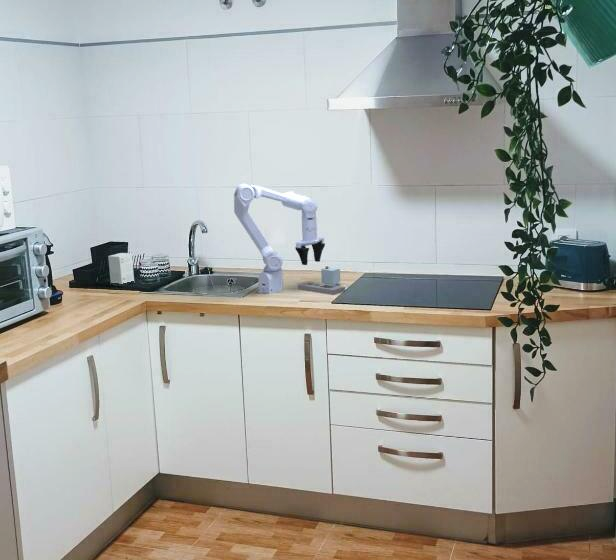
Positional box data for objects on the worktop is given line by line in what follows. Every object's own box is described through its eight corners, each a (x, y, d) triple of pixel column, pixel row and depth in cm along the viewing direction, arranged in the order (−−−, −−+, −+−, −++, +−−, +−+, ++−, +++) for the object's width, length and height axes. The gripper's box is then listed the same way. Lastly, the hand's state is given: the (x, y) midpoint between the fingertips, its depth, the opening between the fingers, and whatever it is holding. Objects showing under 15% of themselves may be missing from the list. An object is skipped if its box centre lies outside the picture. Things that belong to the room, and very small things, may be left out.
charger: (333, 288, 318) (332, 268, 316) (321, 287, 321) (321, 267, 320) (340, 286, 321) (339, 266, 319) (329, 285, 325) (328, 265, 323)
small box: (123, 282, 346) (120, 252, 343) (134, 283, 343) (132, 253, 340) (110, 286, 339) (107, 255, 336) (122, 287, 336) (119, 256, 333)
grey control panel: (333, 296, 304) (333, 289, 304) (298, 290, 316) (298, 284, 316) (345, 293, 309) (345, 285, 309) (310, 287, 321) (309, 280, 321)
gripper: (304, 232, 306) (306, 267, 309) (329, 226, 316) (330, 260, 319) (291, 230, 311) (292, 265, 313) (315, 225, 321) (317, 259, 324)
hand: (311, 263), depth 317 cm, fingers open, 7 cm apart
